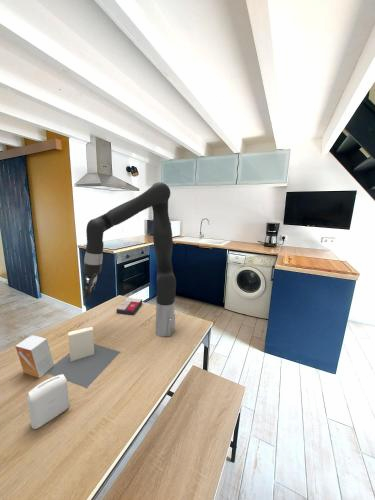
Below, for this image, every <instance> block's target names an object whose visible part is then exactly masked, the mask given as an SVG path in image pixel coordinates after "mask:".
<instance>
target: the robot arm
mask: <svg viewBox="0 0 375 500" xmlns="http://www.w3.org/2000/svg"><path fill="white" fill-rule="evenodd" d="M170 197H171V189H170V187H169V185H167V183H164V182H161V181H160V182H159V181H158V182H156V183H154V184H151V186H150V187H149V188H148V189H147V190H146V191H144V192H142V193H141V194H139V195H138V196H136V197H134V198H132V199H130V200H128V201H126V202H123V203H121V204H120V205H117V206H116V207H114V208H112V209H109V210H108V211H107V212H105V213H103V214H101V215H99V216H98V217H95V218H93V219H90V220H89V221H88V222H87V224H86V229H85V230H86V232H85V233H86V246H85V255H84V260H83V269H82V270H83V272H84V273H86V274H87V275H86V276H85V278H84V285H83V292H84V299H85V300H90V299H91V292H94V291H95V289H96V284H97V280H98V274H101V272H102V267H103V265H102V264H103V254H104V253H103V252H104V240H103V239H104V233H105V232H106V231H107V230H109V229H111V228H113V227H115V226H117V225H120V224H122V223H124V222H126V221H128V220H129V219H131V218H133V217H134V216H136V215H137V214H139V213H142V212H143V211H145V210H147V209H149V208H151V209H152V239H153V246H154V247H153V248H154V254H155V257H156V264H157V265H156V266H157V267H156V268H157V269H156V303H155V305H156V307H155V334H156V335H158V336H159V337H172V335H173V333H174V332H175V326H176V313H175V301H176V300H175V299H176V291H177V279H176V276H175V274H174V269H173V263H172V257H173V256H172V255H173V246H174V244H173V230H172V224H171V220H170V217H169V199H170Z"/></svg>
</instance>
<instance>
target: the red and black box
mask: <svg viewBox="0 0 375 500" xmlns="http://www.w3.org/2000/svg"><path fill="white" fill-rule="evenodd" d="M141 306H143V299H140V298H133V297H131V298H130V297H126V298H125V299H124V300H123V302H121V304H120V305H119V306H118V307H117V308H116V314H117V315H124V316H125V315H127V316H133V317H134V316H135V314H136V313H137V312H138V311H139V309H140V308H141Z"/></svg>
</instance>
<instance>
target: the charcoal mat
mask: <svg viewBox="0 0 375 500" xmlns="http://www.w3.org/2000/svg"><path fill="white" fill-rule="evenodd" d="M120 353H121V351H119V350H116V349H113V348H110V347H106V346H102V345H99V344H95V343H94V354H93V355H90V356H87V357H83V358H80V359H77V360H74V361H71V360H70V352H68V353H67V354H66V355H65V356H63V357H62V358H61V359H59V360H58V361H57V362H56V363H54V366H53V367H52V368H51V369H50V370H49V371H47V372H46V373H45V374H48V375H50V376H53V377H55V376H58V375H62V374H64V376H65V378H66V379H67V382H69V383H71V384H75V385H77V386H79V387H83V388H85V389H88V387H89V386H90V385H91V384H93V382H94V381H95V380H96V379H97V378H98V377H99V376H100V375H101V374H102V373H103V372H104V370H106V368H108V367H109V365H110V364H111V363H112V362H113V361H114V360H115V359H116V357H118V356H119V354H120Z"/></svg>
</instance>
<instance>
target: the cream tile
mask: <svg viewBox="0 0 375 500" xmlns="http://www.w3.org/2000/svg"><path fill="white" fill-rule="evenodd" d="M67 335H68V347H69V353H70V360H71V361H74V360H77V359H80V358H83V357H87V356H90V355H93V354H94V344H95V343H94V342H95V341H94V327H93V326H89V327H84V328H81V329H76V330H72V331H68V333H67Z"/></svg>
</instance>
